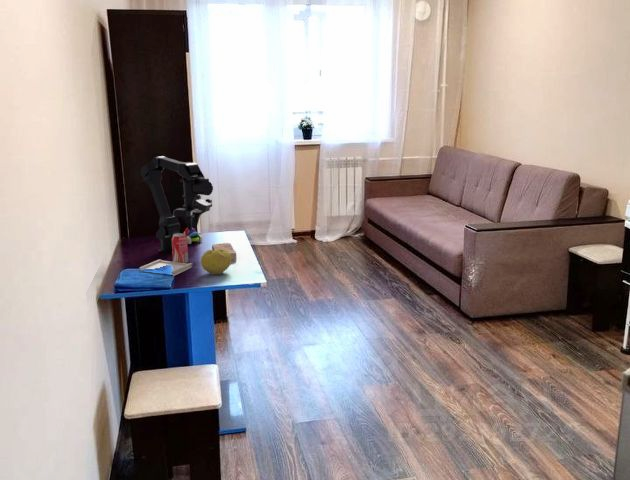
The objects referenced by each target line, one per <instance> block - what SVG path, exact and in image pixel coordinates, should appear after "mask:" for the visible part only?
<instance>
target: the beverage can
mask: <svg viewBox="0 0 630 480" xmlns="http://www.w3.org/2000/svg"><path fill="white" fill-rule="evenodd" d="M183 233H184V232H183ZM183 233H181V232H179V233H177V234H173V237H172V262H178V263H186V264H187V263H188V262H189V249H188V248H189V247H188V244H187V237H186V235H185V234H183Z"/></svg>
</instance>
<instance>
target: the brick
mask: <svg viewBox="0 0 630 480" xmlns="http://www.w3.org/2000/svg"><path fill="white" fill-rule="evenodd" d="M216 249H224V250H226V251H228V252H229V253H230V255H231V258H232V259H231V263H236V262H237V252H236V250H235V249H234V247H233V245H232V244H231V243H229V242H224V243H216V244H212V245H211V250H213V251H214V250H216Z"/></svg>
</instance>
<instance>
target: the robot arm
mask: <svg viewBox="0 0 630 480" xmlns="http://www.w3.org/2000/svg"><path fill="white" fill-rule="evenodd" d="M165 169H167V170H171V171H174V172H177V174H178V175H179V176H180V177H181V178H180V179H179V182H181V183H183V195H182V196H181V198H182V199H183V200H184V204H183V205H182V207H178V208H176V209H174V210H173V214H172V213H171V212H172V211H171V210H170V206H169V204H168V200H167V197H166V195H165V191H164V189H163V185H162V183H161V182H162V179H163V174H162V172H163V171H164V170H165ZM140 175H141V178H142V180H143V182H144V183H145V184H146V185H148V186H149V188H150V191H151V194H152V197H153V201H154V203H155V205H156V206H155V207H156V210H157V212H158V215H159V221H158V227H159V229H158V230H157V231H156V233H155V237H156V239H158V240H159V244H160V245H159V247H160V248H159V250H157V251H158V252H159V253H166V254H171V253H172V237H173V234H177V233H180V230H181V223H180V220H179V218H181V219H182V220H183V222H184V224H185V225H186V228H188V229H189V230H190V231H191V230H192V228H194V229H195V230H196V229H198V226H199V225H198V224H199V221H200V218H201V216H202V215H203V214H204V213H207V212H210V210H211V208H212V207H213V200H212V199H211V198H206V199H202V196H210V195H212V194H213V191H214V186H213V184H212V183H211V181H210V179H209V178H208V177H207V178H205V175H204V173H203V172H202V170H201V168H200V167H199V164H198V163H197V162H195V161H193V162H192V161H187V162H184V161H180V160H176V159H172V158H170V157H169V158H168V157H167V156H164V155H161V156H154V157H153V158H152V159H151V160H150V161H148V162H146V163H145V164H144V165H143V166H142V167H141V169H140Z"/></svg>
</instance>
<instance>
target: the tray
mask: <svg viewBox="0 0 630 480" xmlns="http://www.w3.org/2000/svg"><path fill="white" fill-rule="evenodd" d="M166 265H172V266H173V271H172V272H171V273H172V274H173V276H172V277H175V276H176V275H179V274H180V273H183V272H185V271H187V270H189V269H191V268H193V267H194V266H193V263H192V262H190V263H187V262H186V263H178V262H173V261H169V260H162V259H157V260H154V261H151V262H150V263H148V264H144V265H141V266H140V267H139V268H138V269H139V270H143V269H155V268H160V267H163V266H166ZM139 270H138V271H139Z"/></svg>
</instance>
